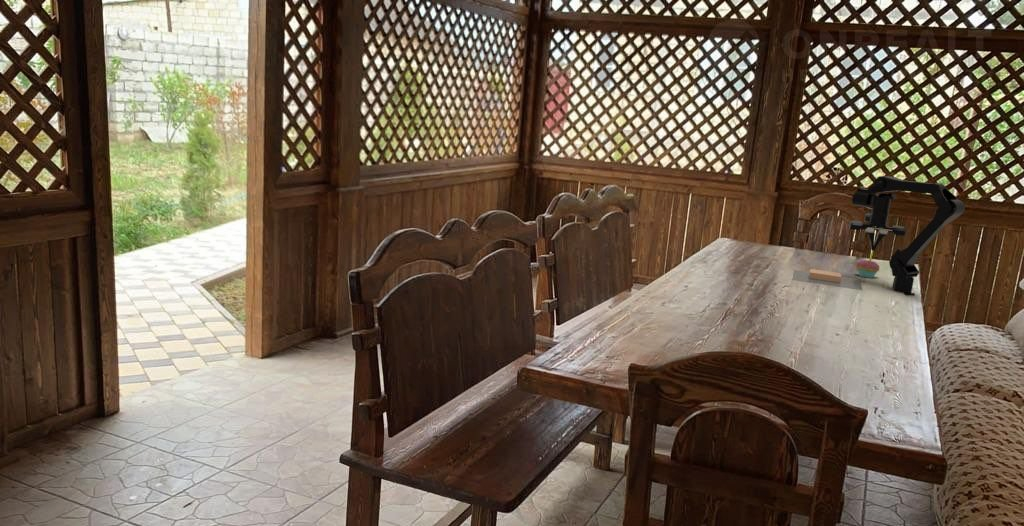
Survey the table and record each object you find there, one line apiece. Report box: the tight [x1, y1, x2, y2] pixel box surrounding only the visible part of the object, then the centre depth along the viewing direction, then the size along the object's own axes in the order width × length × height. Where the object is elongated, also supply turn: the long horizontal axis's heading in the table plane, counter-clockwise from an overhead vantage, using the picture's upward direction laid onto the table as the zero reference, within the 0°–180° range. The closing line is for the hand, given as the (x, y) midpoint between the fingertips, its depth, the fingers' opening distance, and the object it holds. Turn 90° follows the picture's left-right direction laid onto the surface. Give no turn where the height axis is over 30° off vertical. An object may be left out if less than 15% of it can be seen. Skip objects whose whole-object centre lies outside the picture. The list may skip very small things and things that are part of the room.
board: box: [792, 269, 863, 291], centre depth 280 cm, size 24×20×1 cm
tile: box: [809, 268, 842, 283], centre depth 280 cm, size 2×7×11 cm
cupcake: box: [855, 250, 880, 279], centre depth 291 cm, size 9×8×12 cm
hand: (872, 250), depth 279 cm, fingers closed
